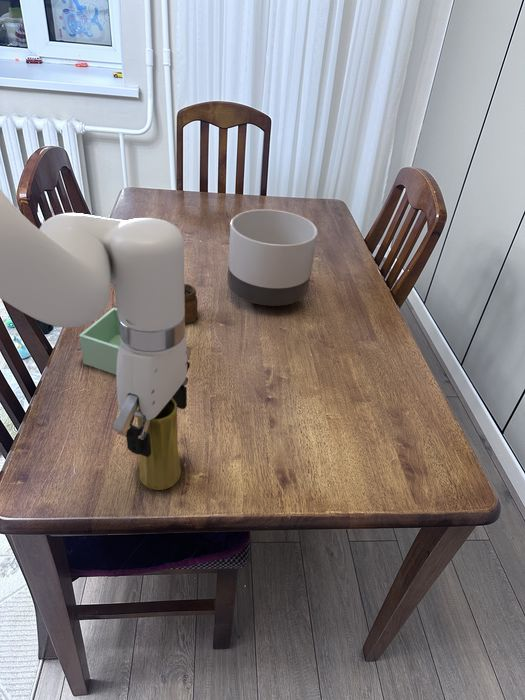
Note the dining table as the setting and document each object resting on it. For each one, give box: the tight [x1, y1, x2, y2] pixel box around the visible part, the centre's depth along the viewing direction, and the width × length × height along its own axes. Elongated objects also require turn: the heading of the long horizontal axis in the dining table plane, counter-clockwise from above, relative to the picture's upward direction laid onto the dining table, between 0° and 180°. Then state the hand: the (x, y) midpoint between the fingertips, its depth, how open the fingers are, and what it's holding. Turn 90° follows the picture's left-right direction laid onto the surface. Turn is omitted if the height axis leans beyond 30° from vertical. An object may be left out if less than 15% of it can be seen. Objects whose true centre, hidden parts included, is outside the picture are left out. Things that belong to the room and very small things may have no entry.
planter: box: [226, 208, 319, 307], centre depth 112 cm, size 19×19×18 cm
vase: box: [136, 398, 182, 491], centre depth 69 cm, size 6×6×14 cm
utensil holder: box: [184, 274, 198, 325], centre depth 103 cm, size 6×6×12 cm
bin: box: [78, 307, 122, 376], centre depth 92 cm, size 11×11×7 cm
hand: (158, 427), depth 67 cm, fingers open, 9 cm apart
